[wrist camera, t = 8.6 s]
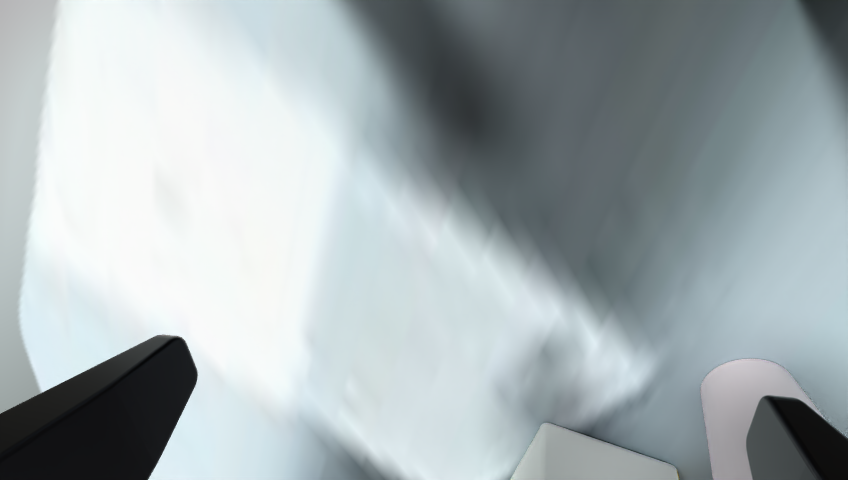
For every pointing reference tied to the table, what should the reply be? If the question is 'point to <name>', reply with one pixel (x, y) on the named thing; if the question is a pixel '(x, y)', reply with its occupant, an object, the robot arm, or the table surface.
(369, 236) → the table surface
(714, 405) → the smoothie
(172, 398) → the robot arm
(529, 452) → the medicine bottle
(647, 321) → the table surface
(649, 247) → the table surface
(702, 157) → the table surface
